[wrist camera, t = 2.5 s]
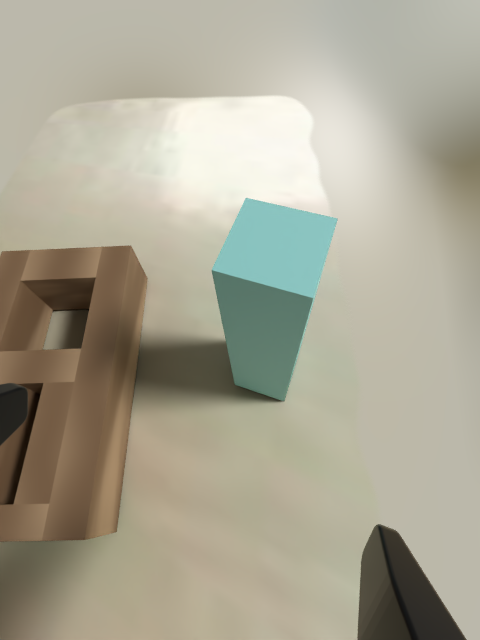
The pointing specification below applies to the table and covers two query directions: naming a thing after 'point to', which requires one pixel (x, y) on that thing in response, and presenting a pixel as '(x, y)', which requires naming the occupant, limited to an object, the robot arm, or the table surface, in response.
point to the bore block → (68, 390)
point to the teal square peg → (269, 290)
